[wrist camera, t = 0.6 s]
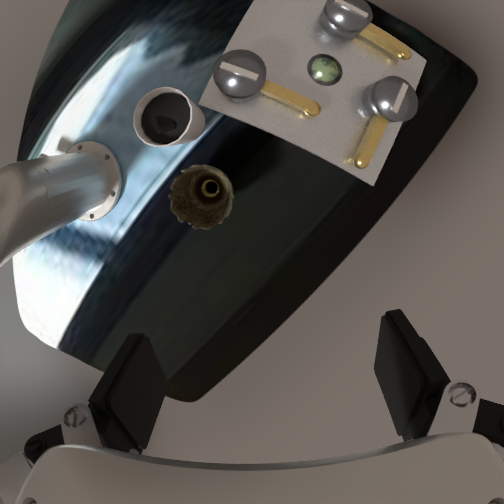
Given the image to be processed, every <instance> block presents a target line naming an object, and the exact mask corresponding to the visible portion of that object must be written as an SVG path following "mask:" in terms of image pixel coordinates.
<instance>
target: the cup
mask: <svg viewBox="0 0 504 504" xmlns="http://www.w3.org/2000/svg"><path fill="white" fill-rule="evenodd" d="M209 182H214V183H216V185H217V191H216V192H215V193H209V192H207V190H206V185H207V183H209ZM171 190H172V192H171V193H170V194H169V198H170V199H171V211H172V212H173V213H174V214H175V215H177V216H178V217H177V218H178V220H179V221H180V222H184V221H186V222H187V223H188V224H191V225H193V228H194V229H200V228H202V229H211V228H213V227H214V226H215V225H217V224H221V223H222V222H223V220H224V218H225V217H228V216H229V214H230V212H231V210H232V207H233V202H234V200H233V199H234V192H233V187H232V184H231V181H230V179H229V178H228V176H227V175H226V174H225V173H224V172H223V171H221V170H220V169H218V168H216V167H213V166H210V165H192V166H191V167H189V168H186V169H184V170H182V173H181V174H179V175H178V176H177V177H175V179H174V182H173V183H172V184H171Z"/></svg>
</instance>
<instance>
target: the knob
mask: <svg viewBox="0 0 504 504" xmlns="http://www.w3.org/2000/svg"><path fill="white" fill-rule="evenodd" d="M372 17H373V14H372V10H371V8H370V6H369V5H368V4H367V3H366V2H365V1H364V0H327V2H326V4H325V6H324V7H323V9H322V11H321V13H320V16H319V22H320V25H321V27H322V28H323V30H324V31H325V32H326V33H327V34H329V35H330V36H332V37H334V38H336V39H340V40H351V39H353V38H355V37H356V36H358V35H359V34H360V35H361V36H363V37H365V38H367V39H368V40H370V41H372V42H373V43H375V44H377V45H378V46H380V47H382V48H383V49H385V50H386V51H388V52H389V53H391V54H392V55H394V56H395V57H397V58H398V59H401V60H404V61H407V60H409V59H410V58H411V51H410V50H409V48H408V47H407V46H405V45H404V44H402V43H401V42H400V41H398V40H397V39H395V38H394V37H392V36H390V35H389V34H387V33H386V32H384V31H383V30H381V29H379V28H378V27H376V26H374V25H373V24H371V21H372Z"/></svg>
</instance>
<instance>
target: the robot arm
mask: <svg viewBox="0 0 504 504" xmlns="http://www.w3.org/2000/svg"><path fill="white" fill-rule="evenodd" d="M109 156H110V158H109ZM121 186H122V175H121V169H120V166H119V163H118V161H117V159H116V157H115V155H114V154H113V152H112V151H111V150H110V149H109V148H108V147H106V146H105V145H103V144H101V143H99V142H95V141H85V142H80V143H78V144H75V145H74V146H73V147H71V148H70V149H69V150H68V151H67V152H66V153H65V154H61V155H55V156H48V155H46V154H41V155H40V156H39V158H37V159H31V160H26V161H21V162H15V163H11V164H8V165H6V166H4V167H2V168H1V169H0V267H1V266H2V265H3V264H4V263H5V262H6V261H8V260H9V259H10V258H11V257H13V256H14V255H15V254H17V253H18V252H20V251H21V250H23V249H24V248H26V247H27V246H29V245H31V244H32V243H34V242H36V241H38V240H39V239H41V238H43V237H45V236H47V235H48V234H50V233H52V232H54V231H56V230H57V229H59V228H61V227H63V226H65V225H67V224H69V223H71V222H72V221H74V220H76V219H80V220H83V221H95V220H98V219H100V218H102V217H104V216H106V215H107V214H108V213H109V212H110V211H111V210H112V209H113V208H114V206H115V205H116V203H117V201H118V199H119V196H120V193H121ZM115 193H116V194H115ZM374 371H375V374H376V377H377V380H378V382H379V385H380V387H381V390H382V393H383V395H384V398H385V401H386V403H387V406H388V409H389V412H390V415H391V417H392V420H393V423H394V426H395V429H396V431H397V434H398V435H399V436H401V435H402V437H403V440H404V442H402V443H398V444H394V445H391V446H386V447H382V448H378V449H374V450H369V451H364V452H359V453H354V454H349V455H344V456H338V457H332V458H324V459H317V460H308V461H299V462H287V463H269V464H220V463H202V462H190V461H180V460H172V459H164V458H157V457H151V456H145V455H141V453H142V451H143V449H146V448H147V445H148V442H149V439H150V436H151V434H152V431H153V428H154V425H155V422H156V419H157V416H158V414H159V411H160V408H161V405H162V402H163V400H164V397H165V394H166V392H167V388H168V383H167V380H166V378H165V375H164V373H163V371H162V369H161V366H160V364H159V362H158V359H157V357H156V355H155V352H154V350H153V348H152V345H151V343H150V340H149V338H148V337H145V335H144V334H143V333H130V334H129V335H128V336H127V338H126V339H125V341H124V343H123V344H122V346H121V347H120V349H119V350H118V352H117V354H116V355H115V357H114V358H113V360H112V362H111V363H110V365H109V366H108V368H107V370H106V371H105V373H104V375H103V376H102V378H101V380H100V381H99V383H98V385H97V386H96V388H95V390H94V391H93V393H92V395H91V396H90V398H89V400H88V401H89V405H88V406H87V405H85V404H74V405H71V406H69V407H68V408H67V409H65V410H64V412H63V413H62V416H61V424H60V425H58V426H55V427H53V428H51V429H48V430H46V431H44V432H41V433H39V434H36V435H34V436H32V437H31V438H30V439H29V440H28V441H27V442H26V444H25V447H24V453H23V452H22V451H20V452H19V453H18V454H16V455H15V456H14V457H12V458H11V459H10V460H8V461H7V462H6V463H4V464H3V465H1V466H0V496H1V498H2V501H3V503H4V504H504V405H501V404H497V403H494V402H491V401H487V400H484V399H481V398H480V392H479V389H478V388H477V386H476V385H475V384H473V383H472V382H471V381H468V380H463V379H458V380H454V381H452V382H451V381H450V379H449V377H448V376H447V374H446V373H445V371H444V369H443V367H442V366H441V364H440V363H439V361H438V360H437V358H436V357H435V355H434V353H433V352H432V350H431V349H430V347H429V346H428V344H427V343H426V341H425V340H424V339H423V338H422V337H419V335H418V334H417V332H416V331H415V329H414V328H413V326H412V325H411V323H410V322H409V321H408V319H407V318H406V316H405V315H404V313H403V312H402V311H401V310H400V309H396V310H391V311H387V312H386V313H385V315H384V316H382V317H381V324H380V332H379V338H378V345H377V352H376V358H375V364H374ZM412 439H414V440H412ZM408 440H410V441H408ZM405 441H406V442H405Z"/></svg>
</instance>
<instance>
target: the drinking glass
mask: <svg viewBox="0 0 504 504" xmlns="http://www.w3.org/2000/svg"><path fill="white" fill-rule="evenodd" d="M133 127H134V129H135V131H136V134H137V136H138V137H139V138H140V139H141V140H142V141H143V142H144V143H145V144H148V145H151V146H154V147H165V146H172V145H178V144H184V143H190V142H192V141H194V140H196V139H197V138H198V137H199V136H200V135H201V134H202V133H203V130H204V128H205V116H204V113H203V111H202V110H201V109H200V108H199V107H198V106H197V105H195V104H194V103H193V102H192V101H191V100H190V99H189V98H188V97H187V96H185V95H184V94H183V93H182V92H181V91H180V90H178V89H174V88H171V87H161V88H156V89H154V90H152V91H150V92H148V93H147V94H145V95H144V96H143V98H142V99H141V100H140V101H139V102H138V103H137V106H136V109H135V111H134V114H133Z"/></svg>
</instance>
